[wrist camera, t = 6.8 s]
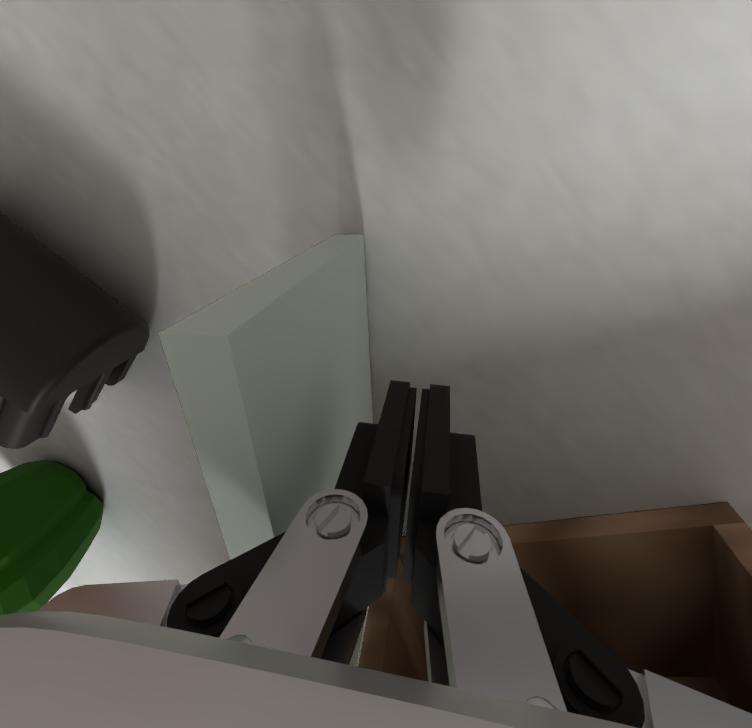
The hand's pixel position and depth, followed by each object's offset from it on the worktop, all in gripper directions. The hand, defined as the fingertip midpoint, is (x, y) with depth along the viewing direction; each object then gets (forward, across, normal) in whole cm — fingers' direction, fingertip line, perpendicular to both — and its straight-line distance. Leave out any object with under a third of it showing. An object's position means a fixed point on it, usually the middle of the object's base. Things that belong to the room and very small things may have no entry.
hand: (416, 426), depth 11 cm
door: (+6, +4, +5) cm, 9 cm away
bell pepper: (+7, +24, +14) cm, 29 cm away
